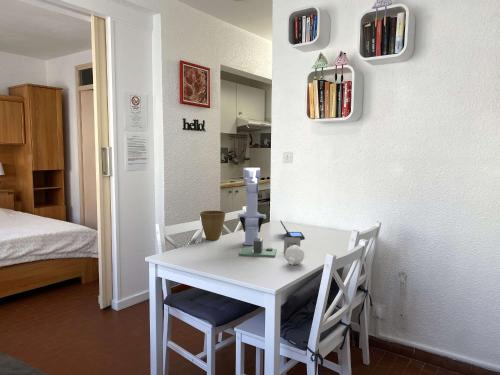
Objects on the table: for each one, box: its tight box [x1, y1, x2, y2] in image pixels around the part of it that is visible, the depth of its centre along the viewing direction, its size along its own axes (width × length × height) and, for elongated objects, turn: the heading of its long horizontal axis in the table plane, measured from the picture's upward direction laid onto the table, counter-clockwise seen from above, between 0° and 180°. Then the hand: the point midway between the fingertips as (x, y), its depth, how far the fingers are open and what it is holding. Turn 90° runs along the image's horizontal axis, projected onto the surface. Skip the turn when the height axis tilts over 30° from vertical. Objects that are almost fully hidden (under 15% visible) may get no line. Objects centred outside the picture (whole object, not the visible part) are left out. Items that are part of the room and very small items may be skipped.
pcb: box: [238, 247, 277, 258], centre depth 196 cm, size 12×18×4 cm, turn 82°
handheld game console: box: [280, 219, 305, 240], centre depth 233 cm, size 16×13×9 cm
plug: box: [253, 237, 264, 253], centre depth 195 cm, size 6×4×6 cm, turn 172°
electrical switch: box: [283, 236, 302, 254], centre depth 196 cm, size 8×5×8 cm, turn 78°
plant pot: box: [199, 210, 226, 241], centre depth 226 cm, size 15×15×16 cm
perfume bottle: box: [284, 245, 305, 266], centre depth 176 cm, size 9×9×12 cm
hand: (251, 231), depth 200 cm, fingers open, 7 cm apart
